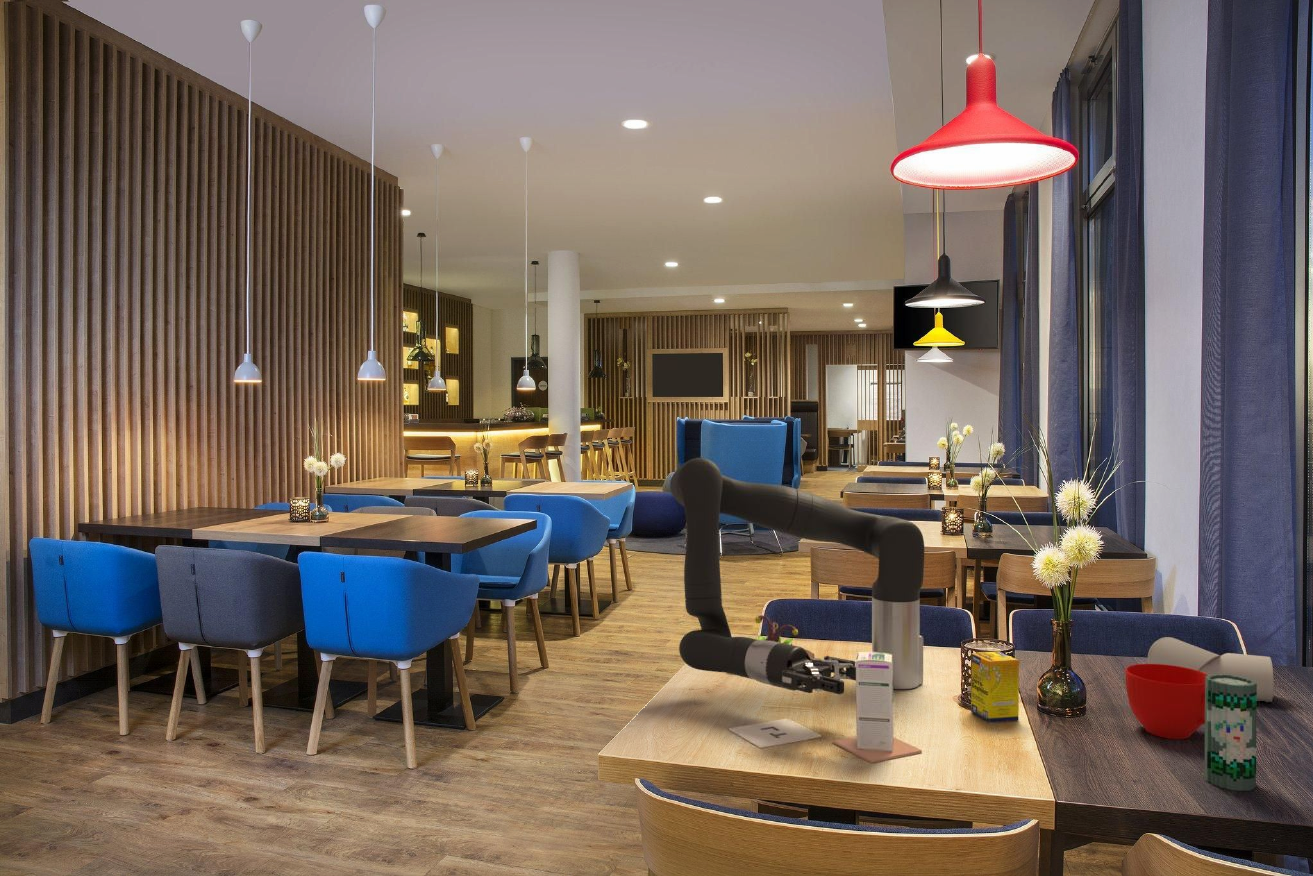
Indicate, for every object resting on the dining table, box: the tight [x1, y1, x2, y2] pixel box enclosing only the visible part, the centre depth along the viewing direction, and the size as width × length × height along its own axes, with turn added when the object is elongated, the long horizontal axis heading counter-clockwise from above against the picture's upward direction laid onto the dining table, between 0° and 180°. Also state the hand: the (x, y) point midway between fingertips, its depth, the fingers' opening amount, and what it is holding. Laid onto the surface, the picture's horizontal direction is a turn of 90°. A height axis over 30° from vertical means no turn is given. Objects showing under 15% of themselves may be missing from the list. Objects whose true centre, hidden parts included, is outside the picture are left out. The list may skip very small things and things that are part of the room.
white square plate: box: [728, 718, 822, 749], centre depth 155 cm, size 12×10×1 cm
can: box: [1204, 674, 1258, 792], centre depth 133 cm, size 6×6×15 cm
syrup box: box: [855, 651, 895, 752], centre depth 148 cm, size 6×6×14 cm
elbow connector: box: [1147, 636, 1274, 703], centre depth 180 cm, size 18×10×20 cm
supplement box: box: [970, 650, 1020, 724], centre depth 163 cm, size 6×6×11 cm
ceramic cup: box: [1124, 663, 1208, 740], centre depth 153 cm, size 13×17×10 cm
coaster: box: [831, 735, 923, 764], centre depth 148 cm, size 10×10×1 cm
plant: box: [747, 614, 816, 660], centre depth 198 cm, size 20×20×11 cm
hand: (857, 682), depth 150 cm, fingers open, 8 cm apart
